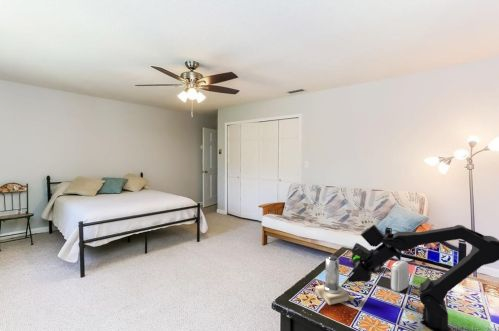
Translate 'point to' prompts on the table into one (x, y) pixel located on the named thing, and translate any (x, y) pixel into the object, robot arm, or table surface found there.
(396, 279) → the photo printer
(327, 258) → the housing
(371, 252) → the robot arm
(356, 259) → the toy tractor
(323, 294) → the stand
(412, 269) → the table surface
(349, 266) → the table surface
